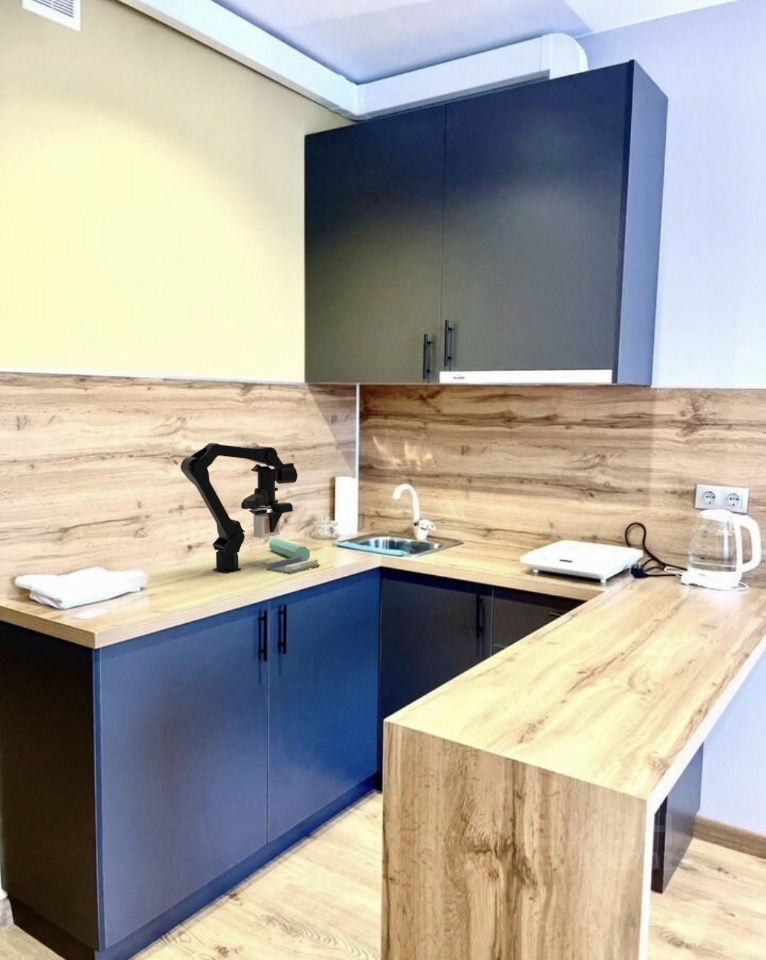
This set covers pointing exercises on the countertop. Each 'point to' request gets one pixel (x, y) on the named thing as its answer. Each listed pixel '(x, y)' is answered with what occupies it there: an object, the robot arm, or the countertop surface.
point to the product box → (264, 526)
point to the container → (289, 549)
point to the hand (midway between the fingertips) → (267, 531)
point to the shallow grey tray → (292, 565)
